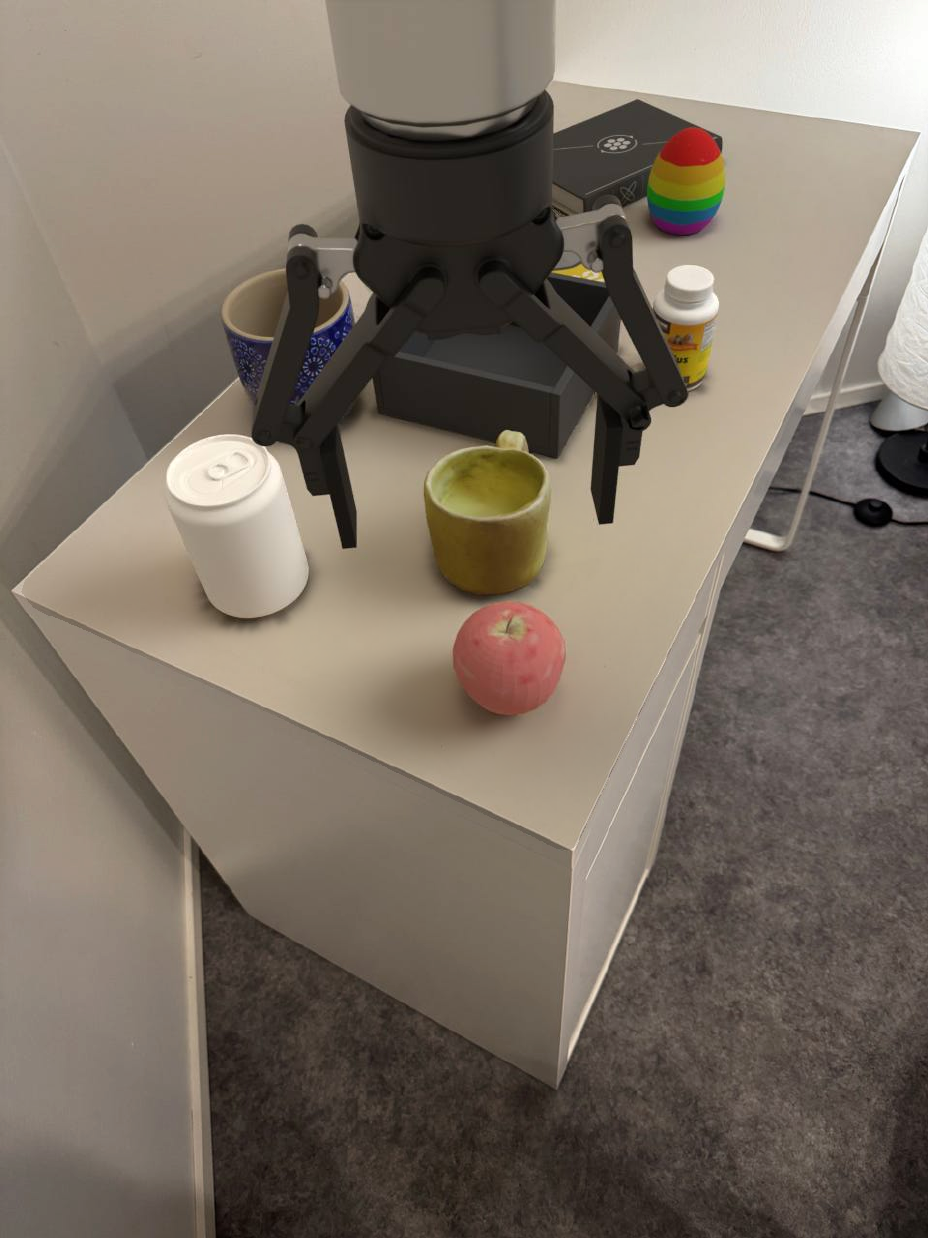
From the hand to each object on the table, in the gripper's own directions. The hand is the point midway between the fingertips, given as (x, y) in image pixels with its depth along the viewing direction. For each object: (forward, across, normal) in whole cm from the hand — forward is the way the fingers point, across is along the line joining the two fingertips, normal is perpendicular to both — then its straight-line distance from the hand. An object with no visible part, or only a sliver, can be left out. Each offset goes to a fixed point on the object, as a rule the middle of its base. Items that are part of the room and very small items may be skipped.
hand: (475, 518), depth 48 cm
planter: (+18, +13, -34) cm, 41 cm away
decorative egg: (+18, -27, -61) cm, 69 cm away
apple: (+18, -2, -1) cm, 18 cm away
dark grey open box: (+18, -4, -36) cm, 40 cm away
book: (+18, -22, -74) cm, 79 cm away
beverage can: (+18, +17, -13) cm, 28 cm away
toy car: (+18, -12, -51) cm, 55 cm away
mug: (+18, -2, -15) cm, 24 cm away
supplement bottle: (+18, -21, -34) cm, 44 cm away
